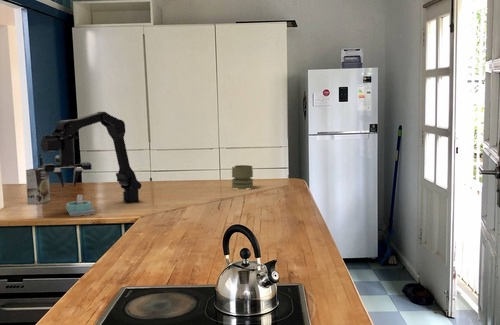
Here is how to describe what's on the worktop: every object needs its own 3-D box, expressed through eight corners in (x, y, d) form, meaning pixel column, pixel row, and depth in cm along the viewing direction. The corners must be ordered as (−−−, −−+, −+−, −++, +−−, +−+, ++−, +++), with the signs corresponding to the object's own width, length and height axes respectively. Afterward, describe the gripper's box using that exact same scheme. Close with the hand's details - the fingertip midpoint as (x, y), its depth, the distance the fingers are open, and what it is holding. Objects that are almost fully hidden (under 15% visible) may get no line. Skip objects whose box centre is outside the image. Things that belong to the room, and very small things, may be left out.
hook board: (90, 208, 233) (89, 191, 232) (95, 214, 219) (94, 196, 218) (66, 210, 229) (65, 193, 228) (70, 216, 215) (69, 198, 214)
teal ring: (89, 205, 230) (89, 200, 230) (92, 209, 221) (92, 204, 221) (65, 207, 226) (65, 202, 226) (68, 212, 217) (67, 206, 217)
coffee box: (39, 204, 242) (37, 169, 241) (27, 203, 244) (25, 169, 242) (50, 200, 251) (48, 167, 249) (38, 200, 252) (36, 167, 251)
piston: (254, 165, 288) (250, 167, 277) (254, 186, 289) (250, 190, 278) (234, 165, 290) (229, 167, 279) (235, 186, 291) (229, 189, 280)
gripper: (87, 148, 230) (88, 183, 232) (42, 149, 222) (43, 185, 224) (91, 150, 220) (92, 186, 222) (43, 151, 212) (45, 189, 214)
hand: (68, 187), depth 221 cm, fingers open, 4 cm apart
